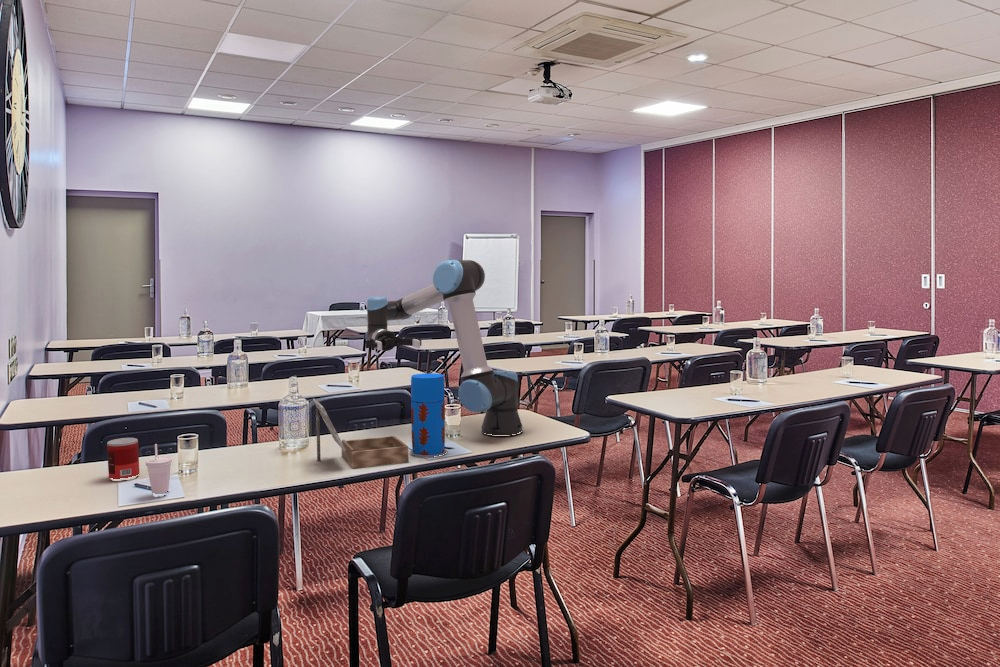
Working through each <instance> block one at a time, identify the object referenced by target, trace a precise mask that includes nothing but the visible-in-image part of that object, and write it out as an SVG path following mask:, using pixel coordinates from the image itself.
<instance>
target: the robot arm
mask: <svg viewBox="0 0 1000 667" xmlns="http://www.w3.org/2000/svg"><path fill="white" fill-rule="evenodd" d="M485 279H486V273H485V270H484V267H483V266H482V265H481V264H480V263H479V262H476V260H471V259H468V260H467V259H454V258H453V259H448V260H443V261H441V262H440V263H438V265H437V266H436V268H435V269H434V271H433V275H432V283H433V284H430V285H429V286H426V287H424V288H421V289H419V290H418V291H414V292H413V293H410V294H408V295H406V296H404V297H402V298H399V299H397V300H388V298H387V297H386V296H369V297H368V298H367V302H366V303H367V304H366V310H367V311H366V313H367V314H366V315H367V316H366V317H367V326H366V328H367V331H366V332H365V336H364V338H365V348H366V349H370V350H371V351H375V350H378V351H382V352H383V351H384V352H389V351H391V350H393V349H394V348H395V347H398V348H399V347H402V346H406V347H407V346H408V347H410V346H411V347H412V348H416V349H421V346H422V338H420V337H419V338H418V336H415V337H408V336H407V337H406V336H403V337H401V336H396V334H395V333H394V332H393V331H391V330H388V322H389V321H398V320H401V321H403V320H406V319H410V318H411V317H412V316H413V315H414V314H416V313H419V312H421V311H423V310H426V309H428V308H430V307H433V306H436V305H437V304H440V303H442V302H444V303H446V304H448V307H449V311H450V315H451V319H452V324H453V328H454V332H455V337H456V342H457V346H458V347H457V348H458V350H459V355H460V359H461V365H462V368H463V372H462V374H461V376H460V380H461V384H460V386H459V388H458V391H457V392H458V393H457V395H458V400H459V401H460V404H461V405H462V406H463V408H465V409H466V410H468V411H469V412H471V413H482V412H485V414H484V417H483V420H482V424H481V433H482V432H483V433H486V434H492V435H512V434H517V433H519V432H521V431H522V432H523V424H522V420H521V417H520V415H519V412H518V411H519V410H518V409H519V407H518V406H519V405H518V404H519V401H518V400H519V396H518V394H519V380H518V377H519V376H518V374H517V372H516V371H512V370H511V371H509V370H496V369H495V370H494V369H493V368H491V367H490V366H489V365H488V361H487V360H488V359H487V357H486V353H485V349H484V344H483V338H482V334H481V330H480V326H479V321H478V317H477V312H476V307H475V303H474V298H475V296H476V295H477V294H476V292H477V291H478V290H480V288H482V287H483V285H484V284H485Z"/></svg>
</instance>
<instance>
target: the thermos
mask: <svg viewBox="0 0 1000 667" xmlns="http://www.w3.org/2000/svg"><path fill="white" fill-rule="evenodd" d="M410 401H411V402H410V403H411V404H410V410H411V412H410V413H411V447H412V448H411V450H413V453H414V454H417V455H437V454H441V453H443V452H444V449H446V448H445V444H446V427H445V426H446V424H445V423H446V422H445V421H446V416H445V415H446V413H445V410H446V409H445V377H444V374H441V373H432V372H430V373H417V374H412V375H411V378H410Z"/></svg>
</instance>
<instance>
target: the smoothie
mask: <svg viewBox="0 0 1000 667" xmlns="http://www.w3.org/2000/svg"><path fill="white" fill-rule="evenodd" d="M172 463H173V458H172V457H169V456H159V457H158V444H157V443H155V444H154V457H152V458H148V459H147V460H146V461H145V466H146V467H147V472H148V478H149V484H150V488H151V489H150V490H151V494H152V493H155V494H163V493H165V492H167V491H168V492H169V488H170V478H171V469H172V468H171V467H172V466H171V465H172Z"/></svg>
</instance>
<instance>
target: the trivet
mask: <svg viewBox="0 0 1000 667" xmlns="http://www.w3.org/2000/svg"><path fill="white" fill-rule="evenodd" d="M446 452H447V453H448V450H447V449H446V448H444V452H443V453H441V454H437V455H417V454H414V453H413V450H412V449H411V450H410V451H409V455H410V456H412V457H414V458H418V459H419V458H421V459H424V458H423V457H434V456H439V455H443V454H445V453H446Z"/></svg>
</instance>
